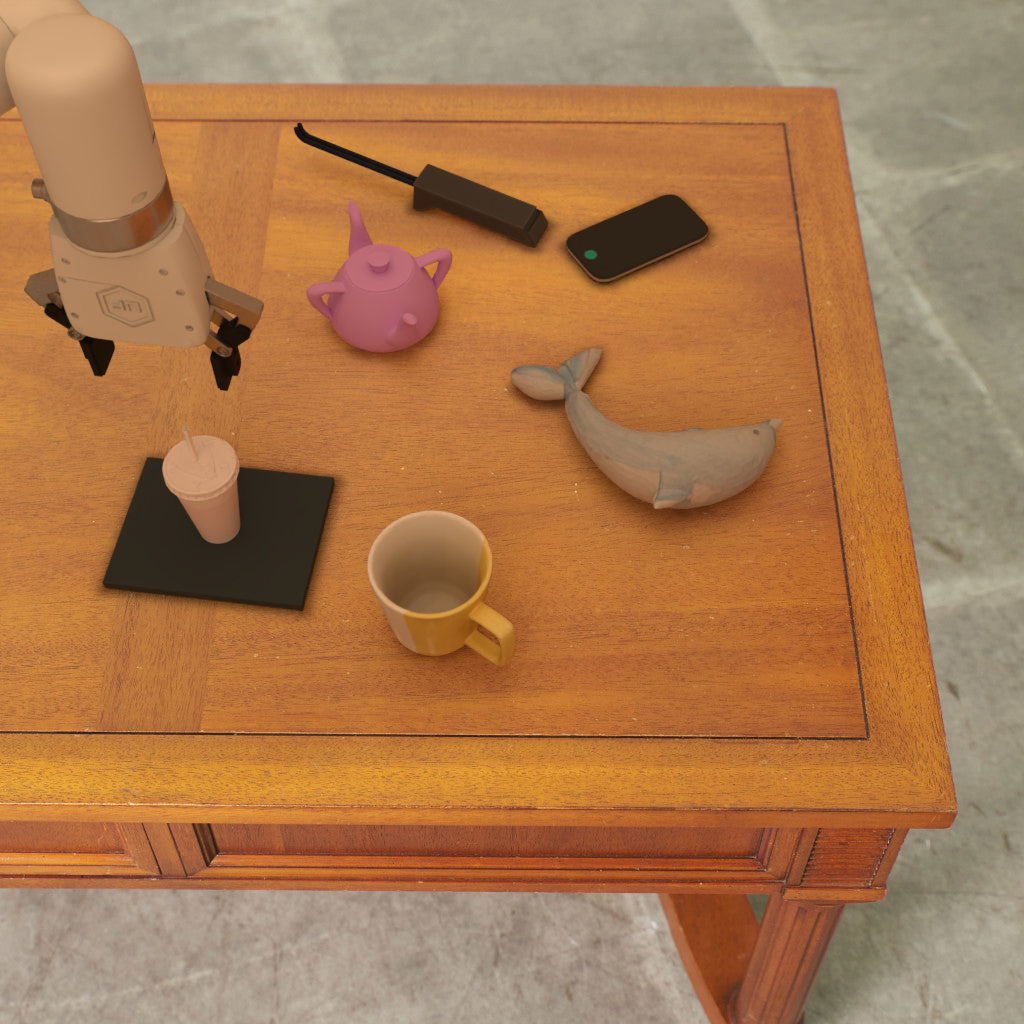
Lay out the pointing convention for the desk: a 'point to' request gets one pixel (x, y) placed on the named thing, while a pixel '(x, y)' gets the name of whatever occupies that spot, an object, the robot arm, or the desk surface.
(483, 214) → the hook tool
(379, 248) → the teapot
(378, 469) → the desk surface
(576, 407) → the sculpture
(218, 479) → the smoothie
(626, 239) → the smartphone
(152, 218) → the robot arm
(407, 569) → the mug
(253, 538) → the mat
